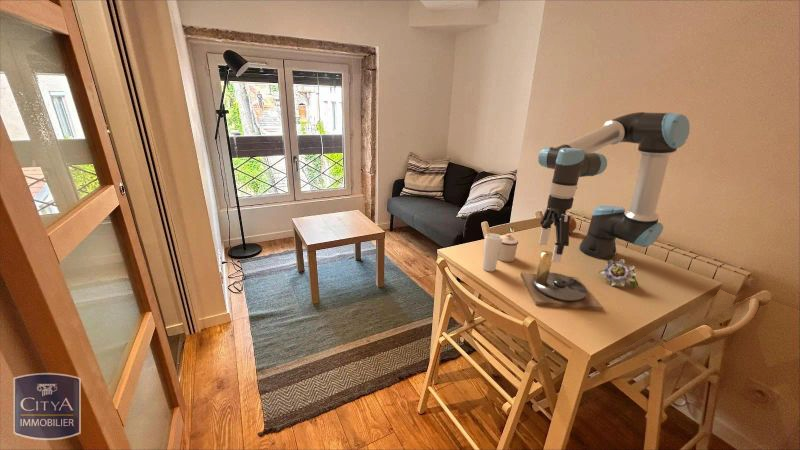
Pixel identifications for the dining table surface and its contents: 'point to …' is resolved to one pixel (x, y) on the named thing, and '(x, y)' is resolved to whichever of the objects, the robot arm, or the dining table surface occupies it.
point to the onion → (572, 224)
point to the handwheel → (557, 282)
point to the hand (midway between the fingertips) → (548, 252)
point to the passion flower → (619, 273)
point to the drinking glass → (491, 251)
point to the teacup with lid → (508, 248)
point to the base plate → (544, 300)
